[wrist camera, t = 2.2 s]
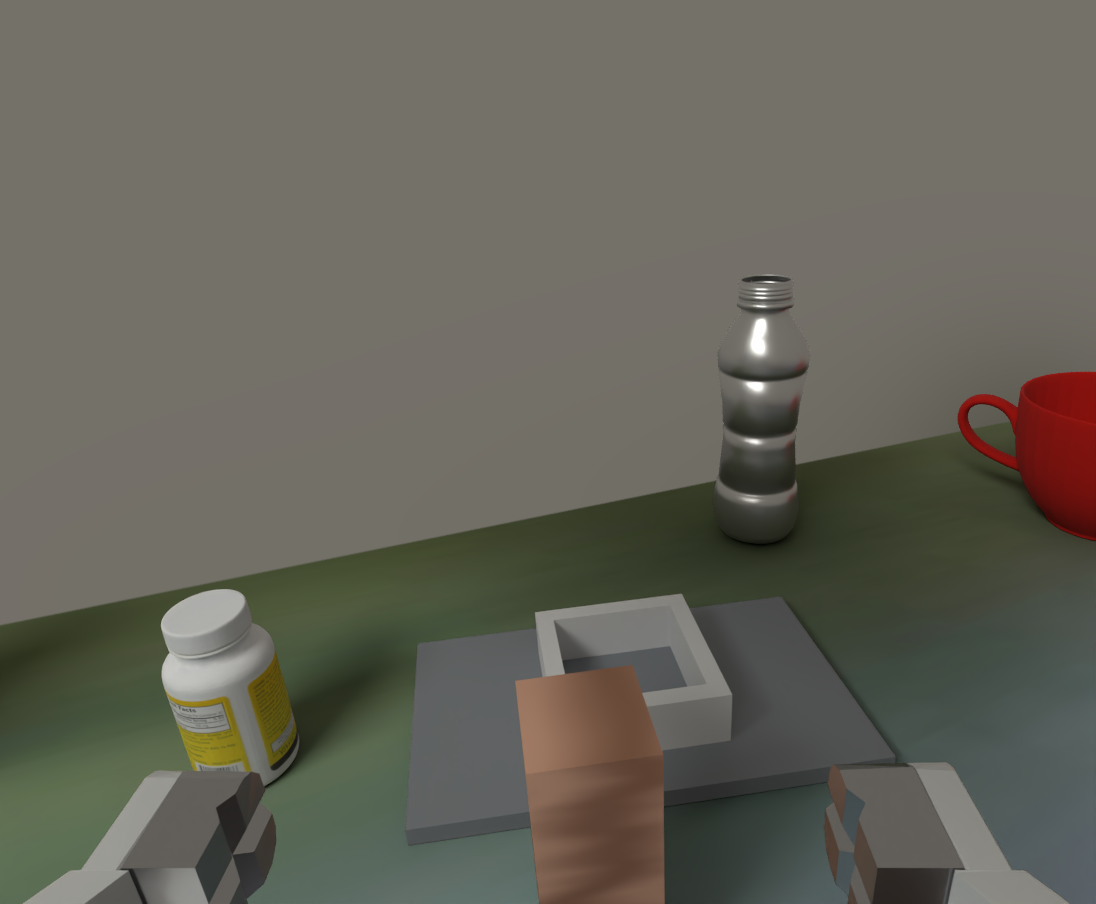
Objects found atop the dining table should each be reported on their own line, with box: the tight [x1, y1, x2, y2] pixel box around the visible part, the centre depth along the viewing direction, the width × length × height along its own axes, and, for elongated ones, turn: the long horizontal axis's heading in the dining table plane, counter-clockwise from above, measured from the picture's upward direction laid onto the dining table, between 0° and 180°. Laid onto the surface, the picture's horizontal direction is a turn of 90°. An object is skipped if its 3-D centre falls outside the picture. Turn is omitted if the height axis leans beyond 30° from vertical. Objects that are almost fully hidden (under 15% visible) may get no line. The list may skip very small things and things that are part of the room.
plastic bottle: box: [713, 274, 810, 544], centre depth 55 cm, size 6×7×20 cm
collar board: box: [405, 594, 896, 845], centre depth 42 cm, size 24×14×4 cm, turn 97°
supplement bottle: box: [161, 589, 299, 786], centre depth 39 cm, size 5×5×10 cm
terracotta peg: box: [515, 665, 665, 904], centre depth 28 cm, size 4×4×12 cm
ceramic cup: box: [958, 372, 1096, 541], centre depth 57 cm, size 13×17×10 cm
